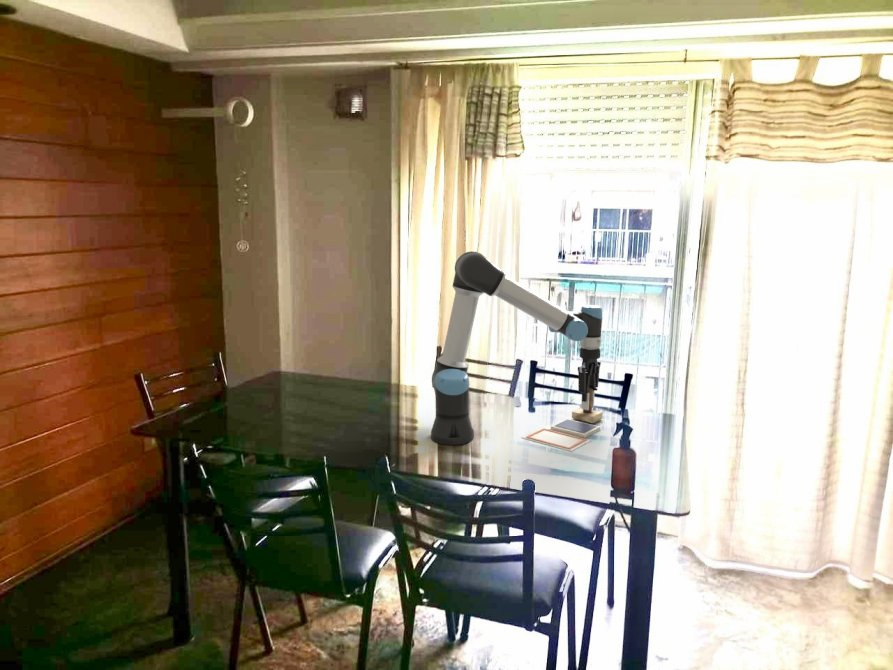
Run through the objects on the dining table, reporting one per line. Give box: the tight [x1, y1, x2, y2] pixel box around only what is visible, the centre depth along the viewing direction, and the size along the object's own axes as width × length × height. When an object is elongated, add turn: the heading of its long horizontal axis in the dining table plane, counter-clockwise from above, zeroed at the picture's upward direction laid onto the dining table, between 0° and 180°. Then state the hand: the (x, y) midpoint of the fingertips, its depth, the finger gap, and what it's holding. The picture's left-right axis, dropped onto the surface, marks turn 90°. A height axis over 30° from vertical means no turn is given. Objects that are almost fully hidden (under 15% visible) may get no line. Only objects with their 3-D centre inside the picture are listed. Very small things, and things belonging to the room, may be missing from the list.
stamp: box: [571, 388, 604, 424], centre depth 249 cm, size 9×7×12 cm
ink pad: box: [550, 418, 601, 439], centre depth 239 cm, size 14×11×1 cm
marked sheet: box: [521, 427, 592, 452], centre depth 230 cm, size 20×13×1 cm, turn 49°
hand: (587, 408), depth 249 cm, fingers closed on stamp, 3 cm apart
